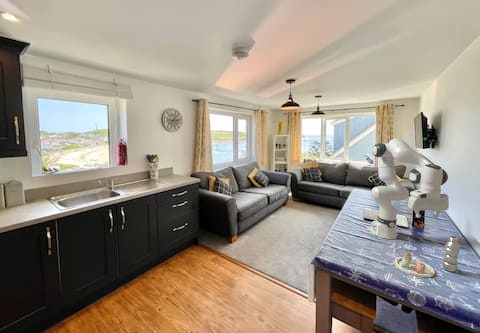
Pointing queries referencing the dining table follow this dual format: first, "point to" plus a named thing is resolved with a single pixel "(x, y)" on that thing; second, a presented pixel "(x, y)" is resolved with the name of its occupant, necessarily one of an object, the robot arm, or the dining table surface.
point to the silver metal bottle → (451, 254)
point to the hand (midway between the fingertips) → (426, 217)
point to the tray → (413, 266)
